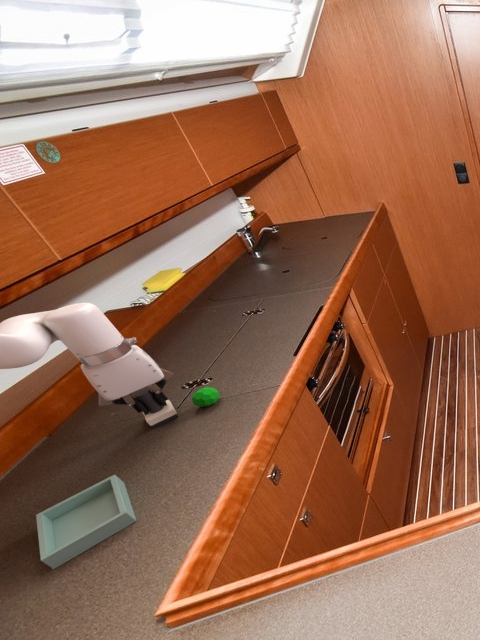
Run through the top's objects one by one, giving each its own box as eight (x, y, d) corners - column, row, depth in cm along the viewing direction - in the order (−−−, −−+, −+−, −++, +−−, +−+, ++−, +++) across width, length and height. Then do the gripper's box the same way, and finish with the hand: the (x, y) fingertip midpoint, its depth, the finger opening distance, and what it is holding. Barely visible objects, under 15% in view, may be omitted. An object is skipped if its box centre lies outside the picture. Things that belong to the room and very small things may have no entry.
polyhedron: (209, 396, 111) (199, 384, 109) (228, 395, 111) (218, 383, 109) (193, 411, 107) (182, 398, 104) (212, 410, 107) (201, 397, 104)
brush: (148, 417, 105) (125, 392, 101) (173, 405, 109) (152, 381, 104) (153, 429, 102) (130, 404, 97) (179, 416, 105) (158, 392, 101)
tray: (47, 523, 82) (35, 514, 80) (124, 482, 89) (114, 474, 88) (53, 569, 74) (40, 560, 73) (136, 520, 82) (126, 512, 80)
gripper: (151, 329, 102) (194, 382, 111) (49, 366, 90) (106, 422, 100) (158, 339, 98) (201, 394, 107) (51, 379, 87) (110, 436, 96)
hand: (155, 407), depth 103 cm, fingers closed on brush, 2 cm apart
